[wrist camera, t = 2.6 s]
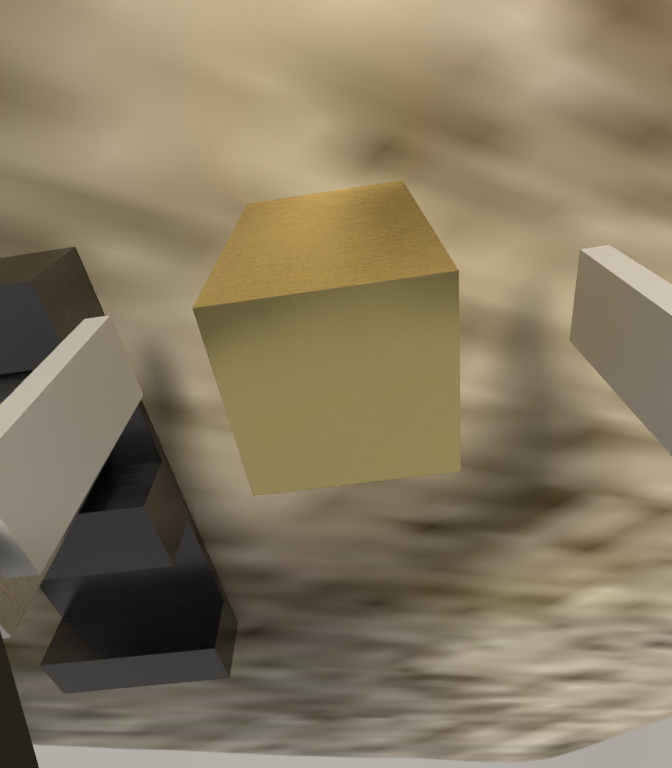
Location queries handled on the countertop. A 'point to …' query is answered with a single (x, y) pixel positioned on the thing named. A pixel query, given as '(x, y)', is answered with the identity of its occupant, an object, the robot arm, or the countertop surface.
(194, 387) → the countertop surface
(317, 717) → the countertop surface
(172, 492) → the rack
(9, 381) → the light grey upright block
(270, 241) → the block
